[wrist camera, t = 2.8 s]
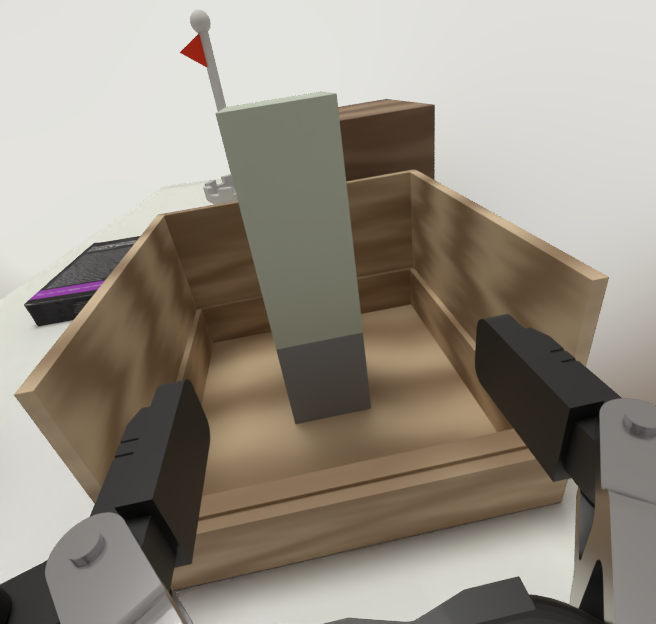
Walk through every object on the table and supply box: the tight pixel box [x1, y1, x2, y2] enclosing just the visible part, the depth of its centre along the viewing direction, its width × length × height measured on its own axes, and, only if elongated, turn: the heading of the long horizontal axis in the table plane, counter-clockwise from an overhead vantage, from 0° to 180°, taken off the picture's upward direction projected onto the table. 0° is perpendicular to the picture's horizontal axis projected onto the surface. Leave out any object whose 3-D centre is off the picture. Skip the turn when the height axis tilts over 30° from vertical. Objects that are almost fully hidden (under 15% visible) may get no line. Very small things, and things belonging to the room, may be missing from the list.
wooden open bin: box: [14, 169, 609, 591], centre depth 24 cm, size 21×20×12 cm
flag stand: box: [180, 10, 238, 205], centre depth 66 cm, size 13×13×30 cm
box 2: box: [216, 92, 371, 424], centre depth 23 cm, size 5×5×18 cm
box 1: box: [24, 236, 140, 326], centre depth 51 cm, size 14×4×20 cm
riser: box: [338, 99, 435, 181], centre depth 41 cm, size 14×14×16 cm
